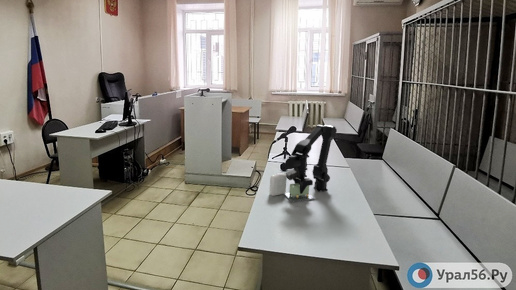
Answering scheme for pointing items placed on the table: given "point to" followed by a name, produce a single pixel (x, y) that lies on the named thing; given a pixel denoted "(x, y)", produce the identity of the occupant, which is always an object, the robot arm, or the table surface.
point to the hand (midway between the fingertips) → (299, 192)
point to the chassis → (298, 197)
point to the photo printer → (277, 184)
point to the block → (297, 190)
